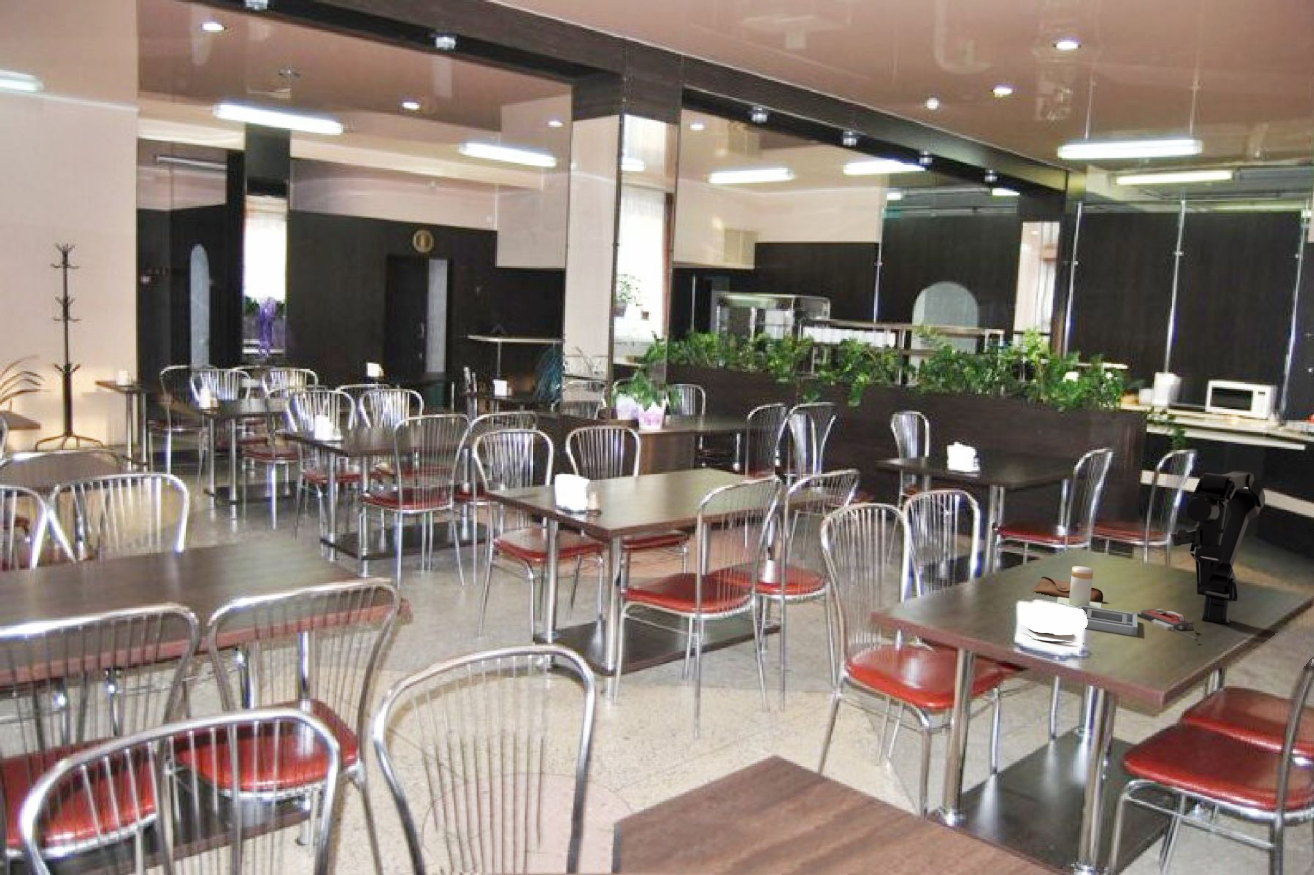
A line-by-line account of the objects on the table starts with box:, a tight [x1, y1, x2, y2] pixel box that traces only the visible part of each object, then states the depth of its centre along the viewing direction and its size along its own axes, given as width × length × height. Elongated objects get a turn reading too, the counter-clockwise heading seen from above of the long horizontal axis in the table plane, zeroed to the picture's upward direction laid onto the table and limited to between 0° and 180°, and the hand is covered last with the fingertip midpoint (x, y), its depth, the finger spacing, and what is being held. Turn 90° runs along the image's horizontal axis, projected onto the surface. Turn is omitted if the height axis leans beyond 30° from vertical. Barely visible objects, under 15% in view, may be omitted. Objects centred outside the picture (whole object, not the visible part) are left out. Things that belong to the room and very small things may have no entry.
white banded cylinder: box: [1069, 565, 1094, 607], centre depth 270 cm, size 5×5×10 cm
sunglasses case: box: [1032, 576, 1104, 603], centre depth 282 cm, size 18×7×7 cm, turn 46°
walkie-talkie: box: [1136, 608, 1199, 642], centre depth 254 cm, size 9×4×20 cm
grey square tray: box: [1078, 605, 1138, 637], centre depth 254 cm, size 14×14×3 cm
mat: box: [1056, 597, 1103, 608], centre depth 270 cm, size 11×11×1 cm
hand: (1200, 583), depth 255 cm, fingers open, 9 cm apart
